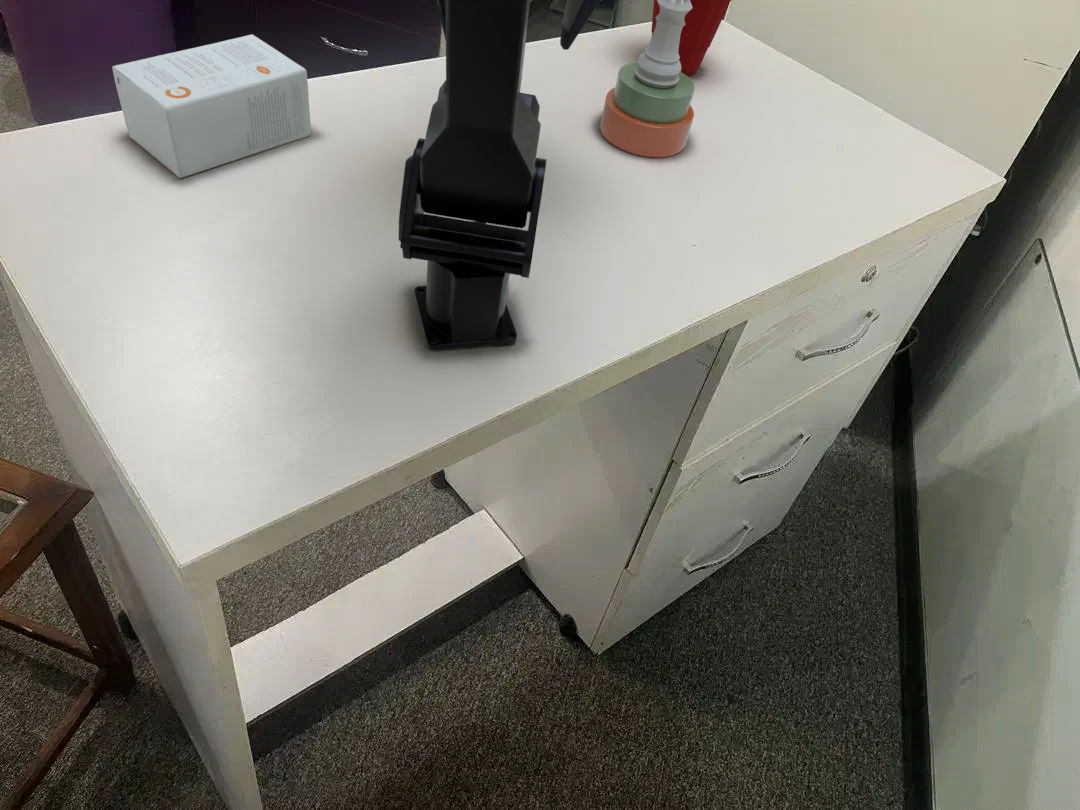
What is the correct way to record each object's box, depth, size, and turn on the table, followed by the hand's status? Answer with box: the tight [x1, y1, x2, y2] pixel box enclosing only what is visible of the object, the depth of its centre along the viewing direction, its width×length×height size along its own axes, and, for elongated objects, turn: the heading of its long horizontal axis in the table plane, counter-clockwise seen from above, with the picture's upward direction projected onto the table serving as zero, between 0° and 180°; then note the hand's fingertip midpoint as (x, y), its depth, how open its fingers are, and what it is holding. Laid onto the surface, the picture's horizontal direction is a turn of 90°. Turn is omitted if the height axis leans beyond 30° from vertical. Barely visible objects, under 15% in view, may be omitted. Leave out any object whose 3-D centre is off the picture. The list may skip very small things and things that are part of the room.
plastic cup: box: [651, 0, 733, 77], centre depth 89 cm, size 11×11×12 cm
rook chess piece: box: [635, 0, 693, 88], centre depth 73 cm, size 4×4×8 cm
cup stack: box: [599, 61, 696, 158], centre depth 78 cm, size 9×9×6 cm
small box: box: [111, 34, 312, 179], centre depth 67 cm, size 8×6×13 cm
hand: (507, 45), depth 60 cm, fingers open, 9 cm apart
